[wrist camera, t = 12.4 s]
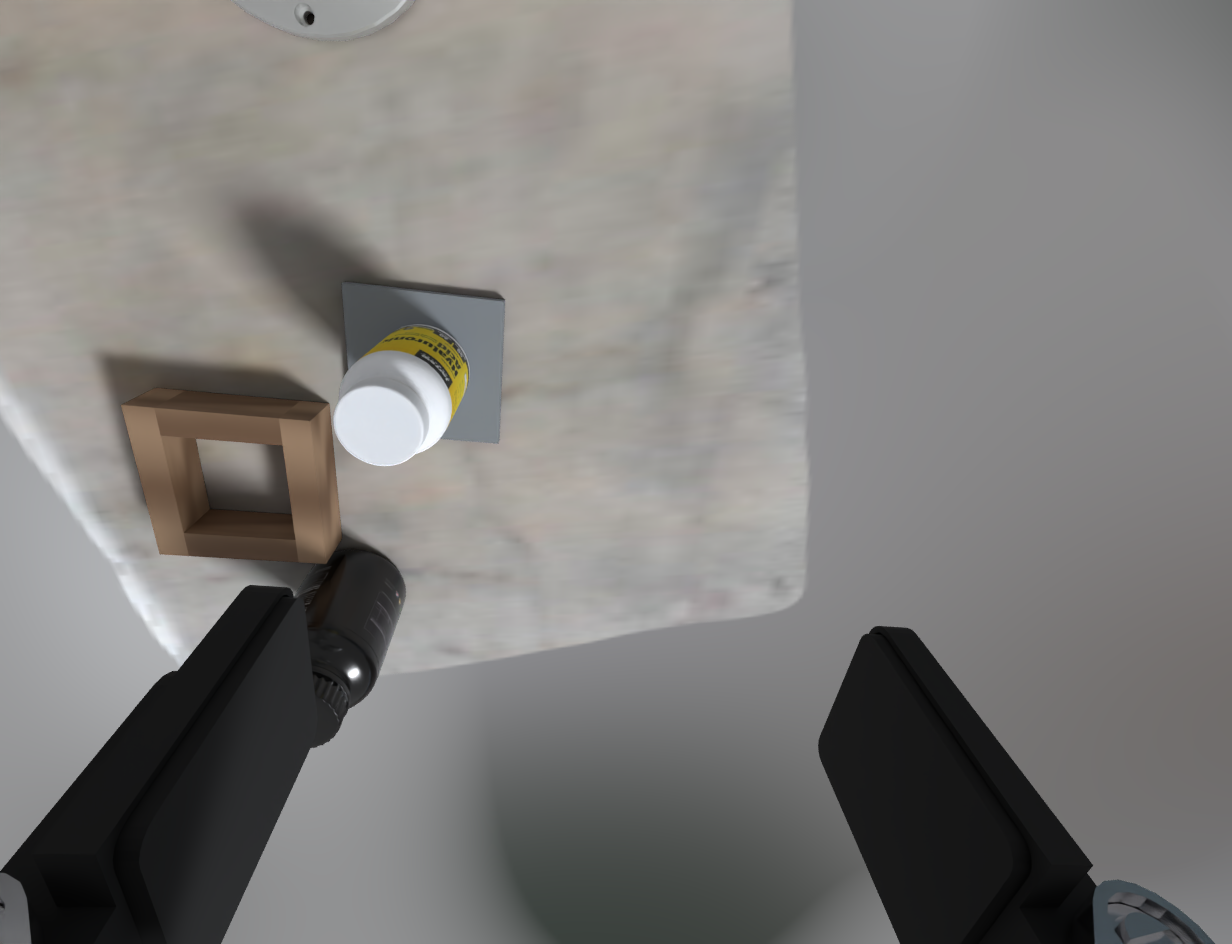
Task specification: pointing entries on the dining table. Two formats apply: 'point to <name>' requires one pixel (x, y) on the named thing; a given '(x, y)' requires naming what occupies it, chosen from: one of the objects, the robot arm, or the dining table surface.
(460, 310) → the slate mat
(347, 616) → the supplement bottle
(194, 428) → the walnut collar
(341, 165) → the dining table surface
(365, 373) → the supplement bottle
